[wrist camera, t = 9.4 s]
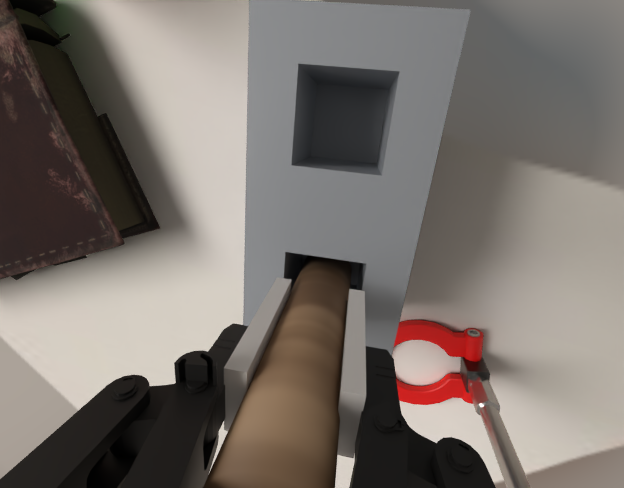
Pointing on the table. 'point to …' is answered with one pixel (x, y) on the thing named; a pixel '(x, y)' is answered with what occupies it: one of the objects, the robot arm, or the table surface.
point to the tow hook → (464, 388)
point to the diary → (56, 155)
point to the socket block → (344, 143)
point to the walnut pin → (293, 391)
